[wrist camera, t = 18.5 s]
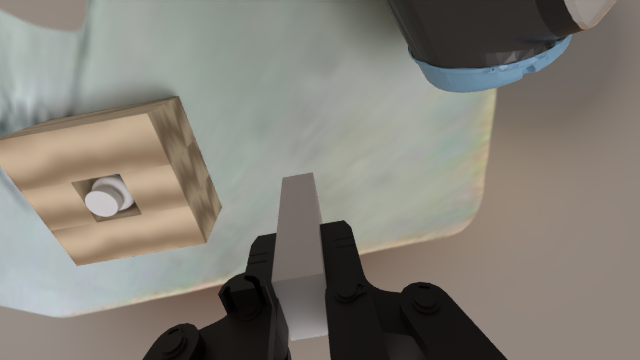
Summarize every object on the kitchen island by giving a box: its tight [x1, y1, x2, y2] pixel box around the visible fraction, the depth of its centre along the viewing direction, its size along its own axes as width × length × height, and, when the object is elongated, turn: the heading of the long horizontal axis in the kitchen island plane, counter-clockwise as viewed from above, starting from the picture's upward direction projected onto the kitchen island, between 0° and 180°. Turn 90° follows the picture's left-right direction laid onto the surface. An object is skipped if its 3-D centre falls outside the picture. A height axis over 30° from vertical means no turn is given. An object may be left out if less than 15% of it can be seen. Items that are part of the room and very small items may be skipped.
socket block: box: [0, 97, 222, 266], centre depth 43 cm, size 20×20×10 cm
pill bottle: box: [85, 174, 135, 217], centre depth 42 cm, size 6×5×10 cm
